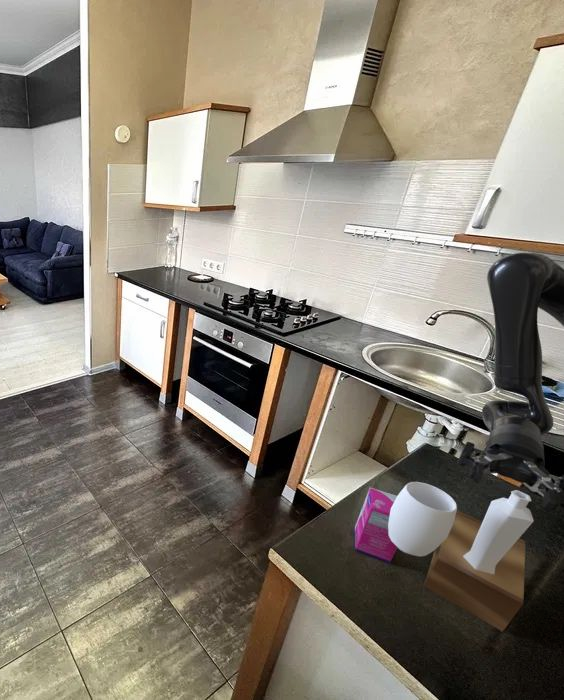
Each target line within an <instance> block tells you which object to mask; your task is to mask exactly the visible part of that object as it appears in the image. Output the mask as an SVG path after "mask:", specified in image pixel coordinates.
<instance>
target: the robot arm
mask: <svg viewBox="0 0 564 700" xmlns="http://www.w3.org/2000/svg"><path fill="white" fill-rule="evenodd" d="M486 281H487V286H488V290H489V296H490V300H491V303H492V310H493V317H494V328H495V329H494V360H493V361H494V366H493V384H494V386H495V387H496V388H497V389H498V390H502V391H505V392H509V393H514V394H517V395H521V396H523V397H524V398H526V399H527V401H519V400H518V401H517V400H509V399H508V400H507V399H492V400H490V401H487V402H486V403H485V404H484V405H483V407H482V409H481V416H482V420H483V423H484V425H485V426H486V428H487V429H488V431H490V432H489V434H488V436H487V439H486V440H485V450H482V449H479V448H477V447H476V444H475V443H473V442H471V441H466V442H465V445H464V447H463V448H462V450H461V453H460V455H459V457H458V459H457V461H456V464H457V465H459V466H461V467H467V468H468V477H469V478H470V479H472V482H473V483H476V484H479V482H480V480H481V479H482V477H483V475H484V474H485V475H493V474H498V475H499V476H502V477H504V478H509V479H511V480H514V481H515V482H518V483H520V484H522V485H524V486H525V487H526V488H528V489H529V491H531V492H533V493H537V494H538V495H540V497H542V510H544V511H547V512H551V511H554V512H555V511H557V510H558V508H559V507H560V506H561V504H562V505H564V474H562V475H561V476H556V475H554V474H551V473H550V472H549V471H548V470H547V469H546V468H545V466H546V465H545V464H546V462H545V447H544V444H543V441H542V436H543V435H546V434H548V433H549V432H550V431H552V429H553V427H554V418H553V417H554V416H553V414H552V413H551V410H550V407H549V405H548V402H547V401H546V398H545V394H544V389H543V348H542V342H541V338H540V332H539V326H538V325H539V324H538V312H539V311H538V310H539V309H540V310H542V311H544V312H545V313H546V314H548V315H550V316H551V317H552V318H554V319H555V320H556V321H557V322H558V323H559V324H560V325H561V326H562V327H563V328H564V268H563V267H562V266H560V265H559V264H558V263H557V262H555V261H554V260H553V259H552V258H550V257H549V256H547V255H544V254H541V253H537V252H515V253H510V254H507V255H505V256H503V257H500V258H499V259H497V260H496V261H495V262H494V263H493V264H492V265H490V267H489V269H488V271H487V273H486Z"/></svg>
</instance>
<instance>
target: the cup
mask: <svg viewBox="0 0 564 700" xmlns="http://www.w3.org/2000/svg"><path fill="white" fill-rule="evenodd" d="M396 496H397V498H396V500H395V501H394V503H393V505H392V507H391V510H390V516H389V522H388V533H389V537H390V539H391V541H392V542H393V543H394V544H395V545H396V546H397V549H398V550H400V551H401V552H403V553H405V554H407V555H411V556H415V557H418V558H419V557H425V556H428V555H429V554H431V553H433V552H434V550H435V549H436V548H437V547H438V546H439V545H440V544H441V543H442V542H443V541H444V540H445V539H446V538H447V537H448V534H449V532H450V530H451V528H452V526H453V524H454V519H455V515H456V511H458V505H457V503H456V501H455V500H454V498H453V497H452V496H450V495H449V493H446V492H445V491H444V490H442V489H440V488H438V487H436V486H434V485H431V484H429V483H426V482H420V481H410V482H408V483H407V484H405V485H404V487H403V488H402V489H401V490H400V492H399V493H398V494H397V495H396Z"/></svg>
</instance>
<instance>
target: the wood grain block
mask: <svg viewBox="0 0 564 700" xmlns="http://www.w3.org/2000/svg"><path fill="white" fill-rule="evenodd" d="M482 522H483V521H482V520H480V519H477V518H474V517H473V516H470V515H468V514H466V513H464V512H461V511H459V510H457V511H456V515H455V519H454V524H453V526H452V528H451V530H450V532H449V534H448V537H447V538H446V539H445V540H444V541H443V542H442V543H441V544H440V545H439V546H438V547H437V548H436V549H435V550H434V551H433V552H432V553H433V554H432V556H431V561H430V564H429V567H428V571H427V574H426V578H425V580H424V582H423V587H424V588H425V589H428V590H429V591H431V592H433V593H435V594H436V595H437V596H440V597H441V598H443V599H445V600H446V601H448V602H449V603H452V604H453V605H455V606H457V607H459V608H460V609H462V610H463V611H466V612H467V613H469V614H471V615H473V616H474V617H476V618H478V619H479V620H481V621H483V622H484V623H486V624H488V625H490V626H491V627H493V628H495V629H497V630H499V631H500V632H502V633H503V632H504V631H505V630H506V628H507V627H508V626H509V624H510V623H511V621H512V620H513V619H514V617H515V616H516V615H517V613H518V612H519V611H520V610H521V608H522V606H524V602H525V601H524V600H525V599H524V597H525V573H526V572H525V568H526V567H525V566H526V543H527V542H526V540H524V539H522V538H519V539H518V540H517V541H516V542H515V544H514V545H513V546H512V547H511V548H510V549H509V551H508V552H507V553H506V554H505V555H504V556H503V557H502V559H501V560H500V561H499V562H498V563H497V564H496V566H495V573H494V574H490V573H486V572H482V571H478V570H476V569H474V568H473V567H472V565H471V564H470V563H469V562H468V561H467V560H466V559H465V558H464V557H463V556H464V555H465V554H467V553H468V552H469V551H470V550H471V548H472V545H473V543H474V541H475V538H476V536H477V534H478V532H479V529H480V527H481V525H482Z"/></svg>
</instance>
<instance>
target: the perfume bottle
mask: <svg viewBox="0 0 564 700" xmlns="http://www.w3.org/2000/svg"><path fill="white" fill-rule="evenodd" d="M510 493H511V494H510V496H509V497H508V498H506V497H501V498H500V497H499V498H497V499H494V500H493V499H492V500H491V502H490V504H489V506H488V509H487V511H486V513H485V515H484V517H483V520H482V521H481V522H482V525H481V527H480V529H479V532H478V534H477V536H476V538H475V541H474V543H473V545H472V548H471V550H470V551H469V552H468V553H467V554H465V555H464V556H463V557H464V558H465V559H466V560H467V561H468V562H469V563H470V564H471V565H472V567H473V568H474V569H476V570H478V571H482V572H486V573H490V574H494V573H495V566H496V564H497V563H498V562H499V561H500V560H501V559H502V557H503V556H504V555H505V554H506V553H507V552H508V551H509V549H510V548H511V547H512V546H513V545H514V544H515V542H516V541H517V540H518V539H521V537H522V535H523V534H525V532H526V531H527V530H528V529H529V527H530V526H531V525H532V524H533V523H534V521H535V520H534V517H533V514H532V512H531V510H530V509H529V508H528V507H527V506H528V504H529V502H532V498H531V496H530V495H529V494H527V493H525V492H523V491H520V490H518V489H515V490H511V491H510Z"/></svg>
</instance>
